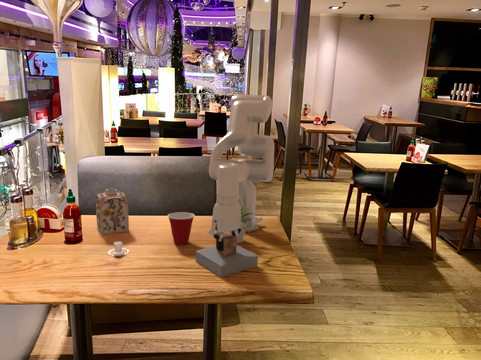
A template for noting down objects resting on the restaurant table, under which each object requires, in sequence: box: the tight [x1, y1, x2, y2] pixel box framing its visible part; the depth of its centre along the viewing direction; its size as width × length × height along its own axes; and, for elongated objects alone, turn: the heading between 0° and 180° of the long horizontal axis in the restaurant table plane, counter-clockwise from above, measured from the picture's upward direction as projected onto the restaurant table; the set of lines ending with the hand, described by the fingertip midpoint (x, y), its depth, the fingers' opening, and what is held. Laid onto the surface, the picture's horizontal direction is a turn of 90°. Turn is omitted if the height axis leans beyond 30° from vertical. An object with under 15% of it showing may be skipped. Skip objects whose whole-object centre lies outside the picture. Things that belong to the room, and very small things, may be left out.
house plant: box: [228, 205, 256, 244], centre depth 166 cm, size 14×14×16 cm
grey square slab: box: [194, 244, 259, 278], centre depth 146 cm, size 16×16×4 cm
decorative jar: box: [95, 188, 130, 236], centre depth 176 cm, size 12×12×18 cm
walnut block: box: [217, 232, 238, 256], centre depth 145 cm, size 5×5×6 cm
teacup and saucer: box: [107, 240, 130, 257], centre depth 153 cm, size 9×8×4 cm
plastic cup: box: [167, 211, 196, 246], centre depth 164 cm, size 11×11×12 cm
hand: (226, 248), depth 145 cm, fingers open, 5 cm apart
